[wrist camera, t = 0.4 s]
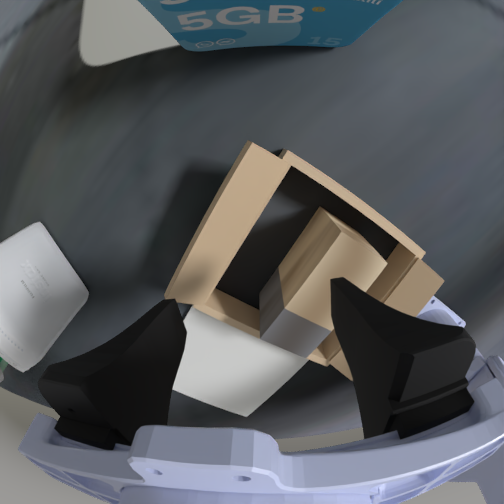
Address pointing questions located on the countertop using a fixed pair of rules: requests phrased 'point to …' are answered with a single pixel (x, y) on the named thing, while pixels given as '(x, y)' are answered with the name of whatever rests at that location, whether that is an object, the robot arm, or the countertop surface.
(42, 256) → the photo printer
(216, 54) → the countertop surface
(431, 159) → the countertop surface
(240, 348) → the mat
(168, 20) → the data package
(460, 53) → the countertop surface
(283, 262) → the capped block
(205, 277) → the carton
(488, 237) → the countertop surface
